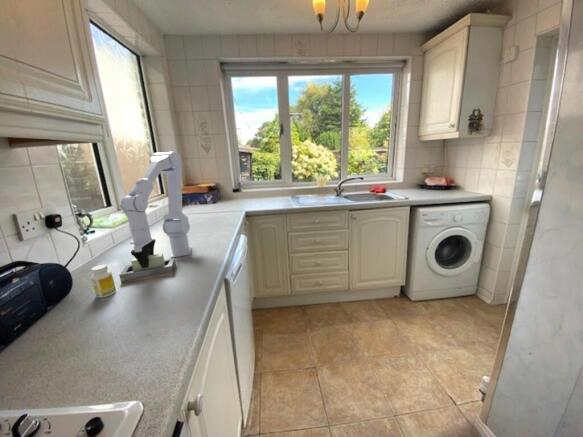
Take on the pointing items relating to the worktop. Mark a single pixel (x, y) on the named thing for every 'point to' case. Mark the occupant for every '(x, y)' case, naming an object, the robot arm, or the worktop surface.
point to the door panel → (154, 261)
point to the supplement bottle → (102, 281)
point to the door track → (147, 272)
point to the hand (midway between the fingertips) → (148, 263)
